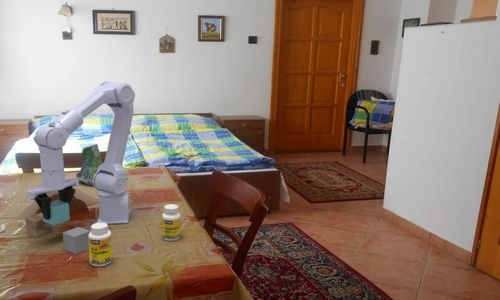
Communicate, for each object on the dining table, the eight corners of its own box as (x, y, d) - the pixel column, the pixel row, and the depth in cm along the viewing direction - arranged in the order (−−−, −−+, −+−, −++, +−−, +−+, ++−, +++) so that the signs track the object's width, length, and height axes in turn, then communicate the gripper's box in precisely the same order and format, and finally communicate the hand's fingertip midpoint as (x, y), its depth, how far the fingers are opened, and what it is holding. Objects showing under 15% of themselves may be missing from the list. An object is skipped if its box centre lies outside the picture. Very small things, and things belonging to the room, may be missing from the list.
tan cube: (42, 228, 129) (41, 212, 128) (52, 232, 127) (51, 216, 126) (26, 233, 125) (25, 217, 124) (36, 237, 123) (35, 221, 121)
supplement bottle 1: (88, 268, 106) (86, 230, 104) (91, 258, 112) (89, 221, 109) (111, 266, 108) (109, 229, 105) (113, 256, 113) (111, 220, 111)
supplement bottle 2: (162, 242, 122) (162, 210, 120) (161, 234, 127) (160, 203, 125) (181, 240, 124) (181, 209, 121) (179, 233, 129) (179, 202, 127)
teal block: (59, 215, 123) (58, 199, 122) (69, 219, 121) (68, 203, 120) (43, 221, 119) (41, 204, 118) (53, 225, 117) (52, 208, 116)
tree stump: (118, 189, 168) (105, 147, 164) (72, 198, 170) (57, 156, 166) (133, 174, 186) (122, 135, 181) (91, 182, 188) (78, 144, 184)
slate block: (79, 243, 120) (78, 226, 119) (91, 247, 118) (90, 230, 117) (64, 249, 116) (62, 232, 115) (75, 254, 114) (74, 237, 112)
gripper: (67, 162, 125) (70, 205, 128) (18, 172, 113) (23, 220, 116) (82, 165, 121) (85, 210, 124) (34, 177, 109) (38, 226, 112)
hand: (56, 215), depth 120 cm, fingers closed on teal block, 5 cm apart
